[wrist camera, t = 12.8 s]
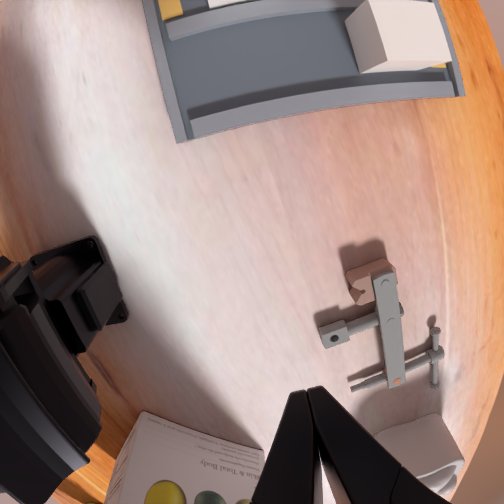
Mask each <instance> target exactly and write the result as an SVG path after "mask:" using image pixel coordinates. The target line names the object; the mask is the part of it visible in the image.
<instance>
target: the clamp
mask: <svg viewBox="0 0 504 504" xmlns="http://www.w3.org/2000/svg"><path fill="white" fill-rule="evenodd" d="M345 277H346V278H347V280H348V281H349V283H350V284H351V286H352V288H351V290H350V291H349V293H350V295H351V296H352V298H353V300H354V301H355V303H356V304H357V305H360V306H361V305H364V304H367V303H369V302H372V301H376V306H375V307H374V313H371V314H369V315H366V316H363V317H361V318H358V319H355V320H353V321H350V322H347V323H345V322H344V320H343V319H342V320H340V321H337V322H334V323H331V324H328V325H326V326H323V327H320V328H319V335H320V338H321V341H322V344H323V346H324V347H325V349H327V348H330V347H333V346H336V345H338V344H341V343H344V342H347V341H349V340H350V339H349V336H350V335H353V334H356V333H358V332H361V331H364V330H366V329H369V328H371V327H374V326H377V325H380V331H381V338H382V345H383V352H384V360H385V366H384V367H383V370H382V374H379V375H377V376H374V377H371V378H369V379H366V380H365V381H363V382H361V383H360V384H357V385H354V386H351V387H350V388H351V391H352V392H355V391H357V390H360V389H364V388H370V387H372V386H375V385H377V384H380V383H382V382H385V381H387V385H388V388H389V389H391V388H394V387H397V386H399V385H401V384H403V383H405V382H406V378H405V373H406V372H409V371H411V370H413V369H415V368H417V367H420V366H422V365H424V364H426V363H428V362H429V363H430V364H433V374H432V382H431V383H430V387H431V388H437V387H438V386H439V381H437V379H438V361H439V360H441V359H443V358H444V350H443V348H442V347H441V346H440V345H438V335H439V334H440V332H441V330H440V328H439V327H433V328H431V330H430V334H431V335H432V338H433V348H432V349H429V350H427V351H426V354H425V355H423V356H421V357H419V358H417V359H415V360H412V361H410V362H408V363H405V361H404V347H403V336H402V326H401V317H402V316H403V315H404V311H403V307H402V305H401V303H400V302H399V300H398V293H397V286H396V285H397V284H398V282H397V275H396V269H395V267H394V266H393V265H392V264H391V263H389V262H388V261H387V260H385V259H383V258H381V259H378V260H375V261H373V262H370V263H367V264H365V265H362V266H359V267H357V268H354V269H351V270H349V271H347V273H346V275H345ZM374 298H375V299H374Z"/></svg>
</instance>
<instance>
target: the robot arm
mask: <svg viewBox="0 0 504 504" xmlns="http://www.w3.org/2000/svg"><path fill="white" fill-rule="evenodd" d="M89 241H91V242H92V243H93V245H94V246H91V245H90V243H89ZM35 261H36V262H37V264H36V263H35ZM32 270H33V272H32ZM119 313H121V314H123V316H121V315H120V314H119ZM128 316H129V313H128V311H127V309H126V306H125V304H124V302H123V300H122V294H121V291H120V289H119V287H118V284H117V282H116V279H115V277H114V275H113V272H112V270H111V267H110V265H109V264H108V263H107V262H106V259H105V256H104V254H103V251H102V249H101V246H100V243H99V241H98V239H97V238H96V237H95V236H88V237H85V238H82V239H79V240H76V241H73V242H70V243H67V244H64V245H61V246H58V247H55V248H52V249H49V250H47V251H44V252H41V253H38V254H35V255H34V256H32V257H31V258H30V260H27V261H24V262H21V263H20V262H16V263H14V262H11V261H10V260H9V259H7V258H6V257H5V256H1V257H0V493H7V494H9V495H10V496H11V497H12V498H14V499H15V500H16V501H17V502H19V503H20V504H44V503H45V502H46V501H47V500H48V499H49V497H50V496H51V495H52V493H53V492H54V491H55V489H56V488H57V487H58V486H59V484H60V483H61V482H62V481H63V480H64V479H65V478H66V477H68V476H69V475H70V474H71V473H73V472H74V471H75V470H77V469H79V468H81V467H83V466H85V465H87V464H88V463H89V462H90V459H89V458H88V457H87V456H86V454H85V453H86V452H87V451H88V450H89V448H90V447H91V446H92V444H93V443H94V442H95V441H96V439H97V437H98V435H99V433H100V431H101V429H102V424H101V423H100V422H99V421H100V414H101V405H100V402H99V399H98V396H97V395H96V385H95V383H94V382H93V380H92V379H90V378H89V377H88V375H87V374H86V372H85V371H84V369H83V367H82V366H81V364H80V362H79V361H78V359H77V357H78V355H79V354H80V353H84V352H86V350H87V349H88V347H89V346H90V344H91V342H92V341H93V339H94V338H95V336H96V334H97V333H98V331H101V330H102V329H103V327H104V326H105V325H111V324H116V323H122V322H125V321H126V320H127V318H128ZM319 454H320V455H319ZM320 458H321V461H320ZM321 462H322V465H323V468H324V471H325V474H326V477H327V479H328V482H329V485H330V487H331V490H332V493H333V496H334V498H335V501H336V504H451V503H450V502H448V501H447V500H445V499H443V498H442V497H441V496H439V495H438V494H436V493H435V492H434V491H432V490H431V489H429V488H428V487H427V486H426V485H424V484H423V483H422V482H421V481H420V480H419V479H417V478H416V477H415V476H414V475H413V474H412V473H411V472H410V471H409V470H408V469H406V468H405V467H404V466H402V464H401V463H400V462H399V461H398V460H397V459H396V458H395V457H394V456H393V455H391V454H390V453H389V452H388V451H387V450H386V449H385V448H384V447H383V446H382V445H381V444H380V443H379V442H378V441H377V440H376V439H375V438H374V437H373V436H372V435H371V434H370V433H369V432H368V431H367V430H366V429H365V428H364V427H363V426H362V425H361V424H360V423H359V422H358V421H357V420H356V419H355V418H354V417H353V416H352V415H351V414H350V413H349V412H348V411H347V410H346V409H345V408H344V407H343V406H342V405H341V404H340V403H339V402H338V401H337V400H336V399H335V398H334V397H333V396H332V395H331V394H330V393H329V392H328V391H327V390H326V389H325V388H324V387H323V386H316V387H312V388H308V389H307V392H306V390H299V391H295V392H291V393H290V395H289V397H288V400H287V403H286V406H285V409H284V412H283V415H282V418H281V421H280V424H279V427H278V429H277V432H276V435H275V438H274V441H273V443H272V446H271V449H270V452H269V454H268V457H267V460H266V462H265V465H264V468H263V470H262V473H261V475H260V478H259V481H258V483H257V486H256V488H255V491H254V493H253V496H252V498H251V501H252V502H250V503H249V504H323V491H322V470H321Z"/></svg>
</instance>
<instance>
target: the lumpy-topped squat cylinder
mask: <svg viewBox="0 0 504 504" xmlns="http://www.w3.org/2000/svg"><path fill="white" fill-rule="evenodd" d="M373 437H374V438H375V439H376V440H377V441H378V442H379V443H380V444H381V445H382V446H383V447H384V448H385V449H386V450H387V451H388V452H389V453H390V454H391V455H393V456H394V457H395V458H396V459H397V460H398V461H399V462H400V463H401V464H402V466H404V467H405V468H406V469H408V470H409V471H410V472H411V473H412V474H413V475H414V476H415V477H416V478H417V479H419V480H420V481H421V482H422V483H423V484H424V485H426V486H427V487H428V488H429V489H431V490H432V491H434V492H435V493H436V494H439V495H441V494H443V495H444V494H448V493H450V492H451V491H452V490H453V489H454V488H455V486H456V483H457V477H456V476H457V475H458V474H459V472H460V470H461V469H462V467H463V465H464V463H465V460H464V457H463V456H462V454H461V452H460V450H459V448H458V446H457V444H456V442H455V441H454V439H453V437H452V435H451V433H450V432H449V430H448V428H447V426H446V424H445V423H444V421H443V419H442V417H441V416H440V415H439V414H437V413H432V414H428V415H425V416H423V417H421V418H418V419H416V420H414V421H411V422H408V423H405V424H400V425H396V426H392V427H389V428H386V429H384V430H382V431H380V432H379V433H377V434H376V435H374V436H373Z"/></svg>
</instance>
